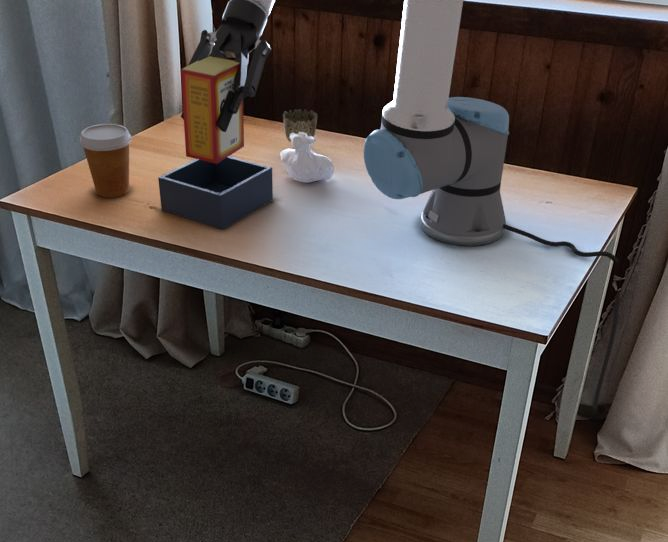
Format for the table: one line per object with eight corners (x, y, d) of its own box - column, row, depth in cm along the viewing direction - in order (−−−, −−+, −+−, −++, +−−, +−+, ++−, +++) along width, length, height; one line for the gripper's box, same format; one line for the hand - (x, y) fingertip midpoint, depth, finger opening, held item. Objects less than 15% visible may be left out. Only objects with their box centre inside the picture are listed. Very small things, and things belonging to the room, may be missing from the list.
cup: (282, 144, 189) (281, 108, 185) (315, 143, 190) (315, 108, 186) (284, 156, 183) (283, 120, 179) (318, 155, 184) (318, 119, 179)
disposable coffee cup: (110, 205, 161) (101, 144, 155) (77, 192, 166) (67, 132, 159) (147, 189, 168) (141, 130, 161) (115, 177, 172) (107, 119, 166)
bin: (273, 199, 165) (272, 167, 161) (222, 229, 154) (220, 195, 150) (213, 182, 171) (211, 151, 167) (161, 210, 160) (158, 177, 156)
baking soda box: (214, 139, 161) (210, 53, 152) (244, 146, 159) (242, 59, 150) (186, 156, 154) (180, 67, 145) (216, 163, 152) (213, 74, 143)
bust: (279, 183, 177) (261, 153, 166) (293, 153, 178) (276, 121, 168) (331, 195, 172) (315, 165, 162) (345, 164, 174) (330, 132, 164)
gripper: (303, 28, 153) (259, 144, 150) (212, 14, 160) (168, 124, 157) (288, 3, 146) (241, 124, 143) (193, -11, 153) (147, 104, 150)
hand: (203, 124), depth 150 cm, fingers closed on baking soda box, 7 cm apart
